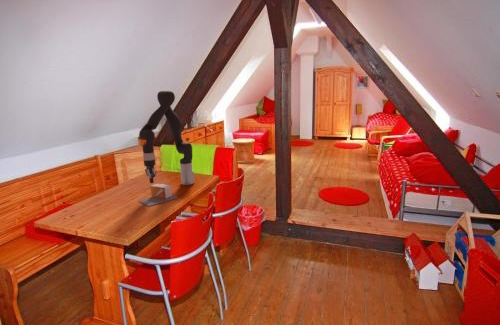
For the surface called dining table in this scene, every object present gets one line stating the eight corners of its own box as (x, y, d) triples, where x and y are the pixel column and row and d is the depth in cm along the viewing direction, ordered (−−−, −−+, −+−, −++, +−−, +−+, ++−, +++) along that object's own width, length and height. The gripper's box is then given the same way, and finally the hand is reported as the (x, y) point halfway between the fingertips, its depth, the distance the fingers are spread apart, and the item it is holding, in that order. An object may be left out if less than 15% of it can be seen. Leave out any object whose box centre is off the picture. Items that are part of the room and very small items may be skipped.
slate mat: (167, 193, 223) (167, 192, 222) (178, 197, 213) (178, 197, 213) (139, 201, 208) (138, 200, 208) (148, 206, 198) (148, 206, 198)
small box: (150, 185, 213) (164, 187, 207) (156, 183, 218) (170, 185, 213) (151, 196, 215) (165, 199, 209) (157, 194, 220) (171, 196, 215)
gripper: (158, 159, 207) (161, 183, 211) (149, 156, 216) (152, 179, 220) (148, 161, 202) (151, 186, 206) (139, 158, 211) (142, 182, 215)
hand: (151, 182), depth 213 cm, fingers closed
